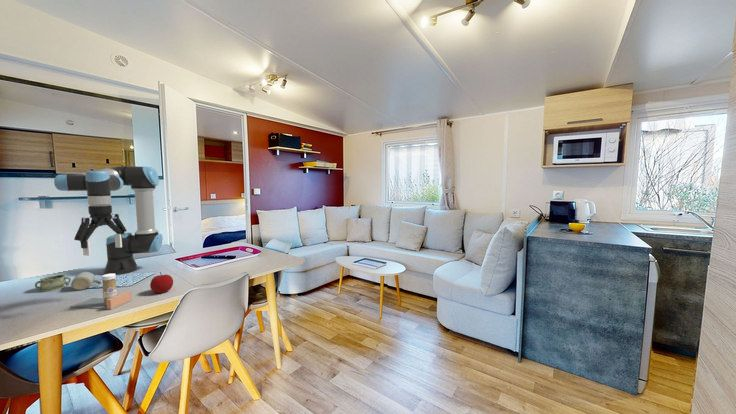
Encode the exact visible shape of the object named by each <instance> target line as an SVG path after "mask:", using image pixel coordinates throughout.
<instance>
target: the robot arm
mask: <svg viewBox="0 0 736 414" xmlns="http://www.w3.org/2000/svg"><path fill="white" fill-rule="evenodd" d="M159 183H160V178H159V175H158V172H157V171H156V169H155V168H154V167H152V166H135V165H133V166H131V165H130V166H129V165H121V166H113V167H112V166H111V167H105V168H102V169H100V170H86V171H85V172H82V173H81V172H80V173H75V174H73V173H72V174H57V175H56V176H55V178H54V180H53V184H54V187H55V188H56V189H57V190H59V191H62V192H63V191H64V192H65V191H66V192H74V191H75V192H84V191H85V192H86V195H87V196H86V198H87V204H88V207H87V209H88V214H89V217H81V218H80V219H81V222H80V226H79V227H78V229H77V232H76V234H75V237H74V241H79V242H80V248H81V249H82V252H83V256H91V255H92V249H91V240H89V239H90V238H91V236H92V234H93V233H94V232H95V230H96V229H97V228H99V227H102V226H108V227H109V228H110V229H111V230H112V231H113V232H115V233H114V234H112V235H109V236H107V238H106V240H105V241H106V242H105V243H106V244H105V245H106V246H105V247H106V256H107V258H106V259H107V262H106V265H105V268H104V270H103V271H104V274H103V275H105V274H111V273H114V274H116V276H118V275H123V274H124V275H125V274H127V273H133V272H135V271H137V270H138V264H137V262H136V260H135V258H134V254H135V255H136V254H151V253H157V252H159V251H160V250H161V248H162V244H163V234H162V233H159V230H158V229H157V228H156V223H155V207H154V206H155V205H154V192H153V191H154V190H155V189H156V187H157V186H159ZM124 186H126V187H127V186H130V190H132V191H134V198H135V199H134V202H135V214H136V215H135V216H136V226H137V227H136V228H137V230H136V231H135V232H134V234H133V233H132V232H127V229H126V226H125V225H124V223H123V221H121V219H120V215H119V213H113V207H112V196H111V193H112V192H115V191H119V190H120V189H122V188H123V187H124ZM117 274H118V275H117Z"/></svg>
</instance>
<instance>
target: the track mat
mask: <svg viewBox="0 0 736 414" xmlns="http://www.w3.org/2000/svg"><path fill="white" fill-rule="evenodd" d="M131 301H132V291H125V292H123V293H120V294H118V295H117V296H115V297H112V298H110V299H107V300H106V302H107V305H104V298H102V297H91V298H89V299H86V300H83V301H81V302H78V303H76V304H72V305H70V308H79V309H96V310H97V309H98V310H113V309H116V308H118V307H120V306H122V305H123V306H124V305H125V304H128V303H130V302H131Z"/></svg>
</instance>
